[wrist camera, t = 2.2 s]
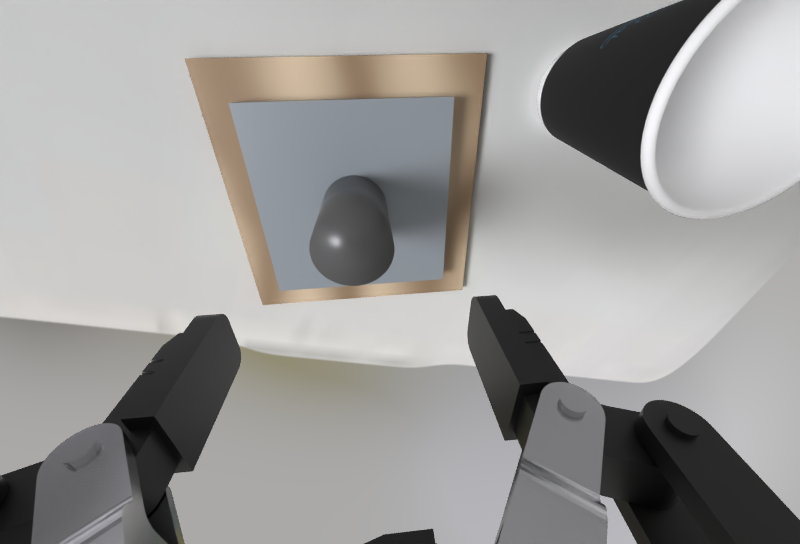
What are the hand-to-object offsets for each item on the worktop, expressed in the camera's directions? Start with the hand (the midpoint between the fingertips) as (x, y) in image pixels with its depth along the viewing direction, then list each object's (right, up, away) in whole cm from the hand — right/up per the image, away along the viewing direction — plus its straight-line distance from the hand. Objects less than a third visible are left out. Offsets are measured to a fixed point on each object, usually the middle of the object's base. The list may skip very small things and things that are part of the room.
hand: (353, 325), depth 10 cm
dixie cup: (+12, +13, +9) cm, 20 cm away
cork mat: (-1, +7, +11) cm, 13 cm away
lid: (-1, +7, +10) cm, 12 cm away
